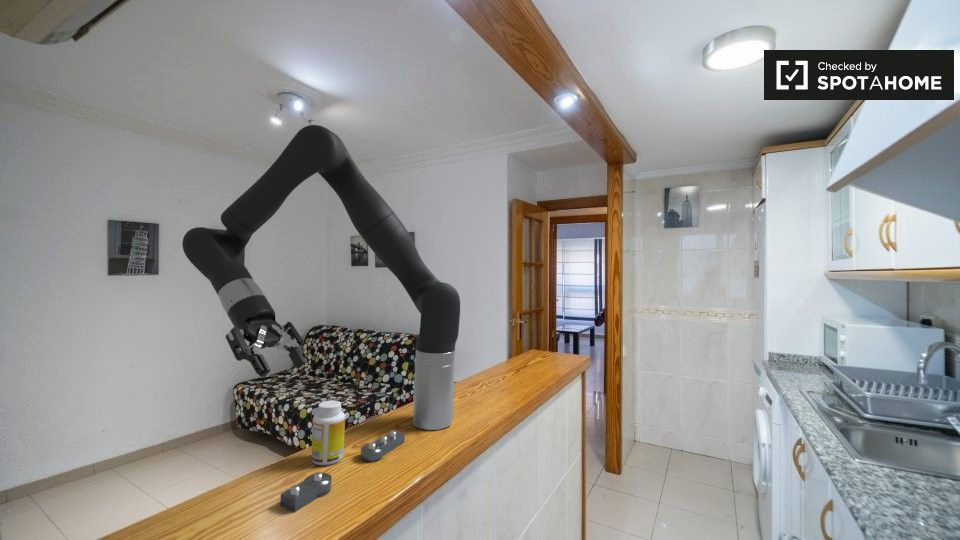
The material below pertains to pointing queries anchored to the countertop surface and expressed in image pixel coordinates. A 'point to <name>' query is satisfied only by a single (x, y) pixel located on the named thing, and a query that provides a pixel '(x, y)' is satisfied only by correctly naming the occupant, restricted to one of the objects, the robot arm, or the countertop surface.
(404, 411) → the countertop surface
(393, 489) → the countertop surface
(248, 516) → the countertop surface
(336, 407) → the supplement bottle
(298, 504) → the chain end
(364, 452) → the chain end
